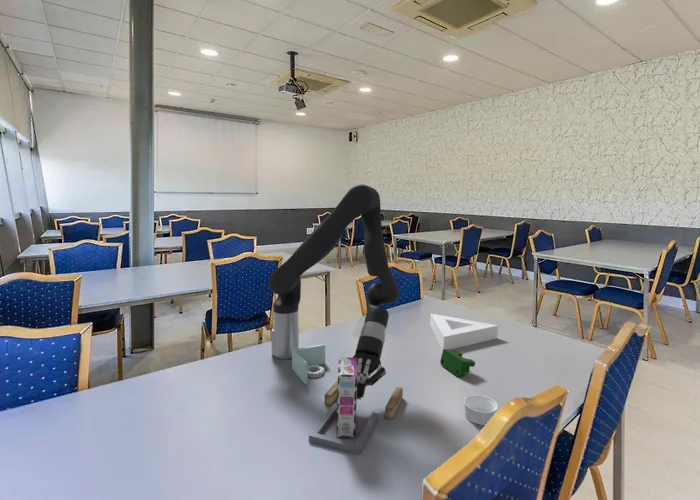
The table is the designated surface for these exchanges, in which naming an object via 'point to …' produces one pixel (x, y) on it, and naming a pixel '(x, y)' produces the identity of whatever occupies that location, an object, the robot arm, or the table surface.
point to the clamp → (456, 362)
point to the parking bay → (338, 443)
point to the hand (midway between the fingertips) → (357, 398)
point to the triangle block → (461, 331)
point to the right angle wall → (308, 361)
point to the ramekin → (479, 408)
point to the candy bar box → (347, 397)
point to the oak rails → (389, 409)
